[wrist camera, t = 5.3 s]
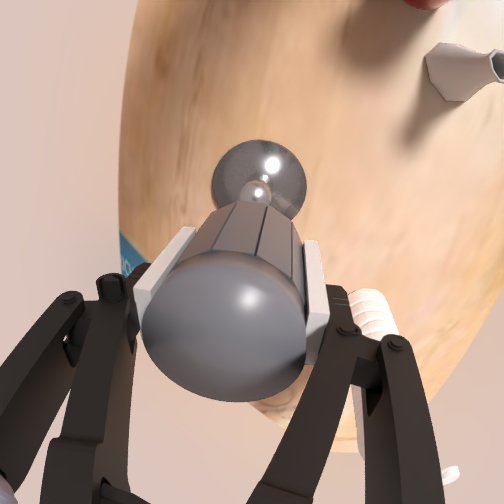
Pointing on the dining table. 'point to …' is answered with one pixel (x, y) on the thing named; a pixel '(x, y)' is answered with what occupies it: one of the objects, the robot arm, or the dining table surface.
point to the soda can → (427, 3)
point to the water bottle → (375, 327)
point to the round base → (261, 177)
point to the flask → (463, 70)
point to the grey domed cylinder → (233, 307)
